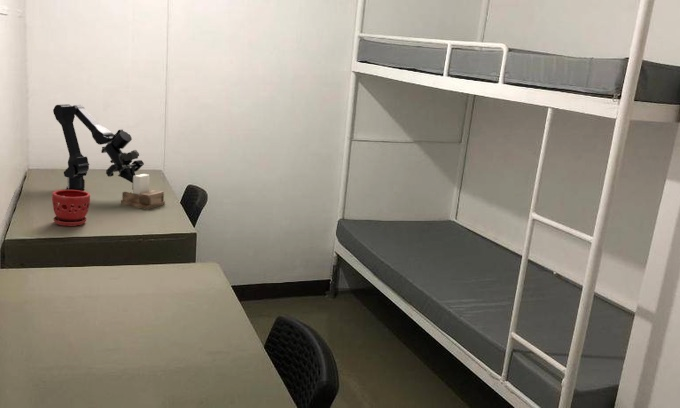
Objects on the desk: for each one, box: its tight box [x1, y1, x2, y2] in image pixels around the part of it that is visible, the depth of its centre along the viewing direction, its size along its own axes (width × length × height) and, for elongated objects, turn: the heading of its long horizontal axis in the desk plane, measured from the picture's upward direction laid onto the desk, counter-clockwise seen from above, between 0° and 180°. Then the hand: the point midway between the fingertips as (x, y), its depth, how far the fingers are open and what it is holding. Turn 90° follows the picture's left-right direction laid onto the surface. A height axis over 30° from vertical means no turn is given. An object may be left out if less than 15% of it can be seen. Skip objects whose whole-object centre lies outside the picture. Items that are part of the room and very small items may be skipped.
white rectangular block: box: [131, 173, 151, 195], centre depth 273 cm, size 4×6×11 cm
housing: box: [120, 189, 166, 210], centre depth 274 cm, size 14×12×6 cm
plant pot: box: [51, 189, 91, 227], centre depth 237 cm, size 13×13×12 cm
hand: (135, 183), depth 274 cm, fingers closed, pressing on white rectangular block
